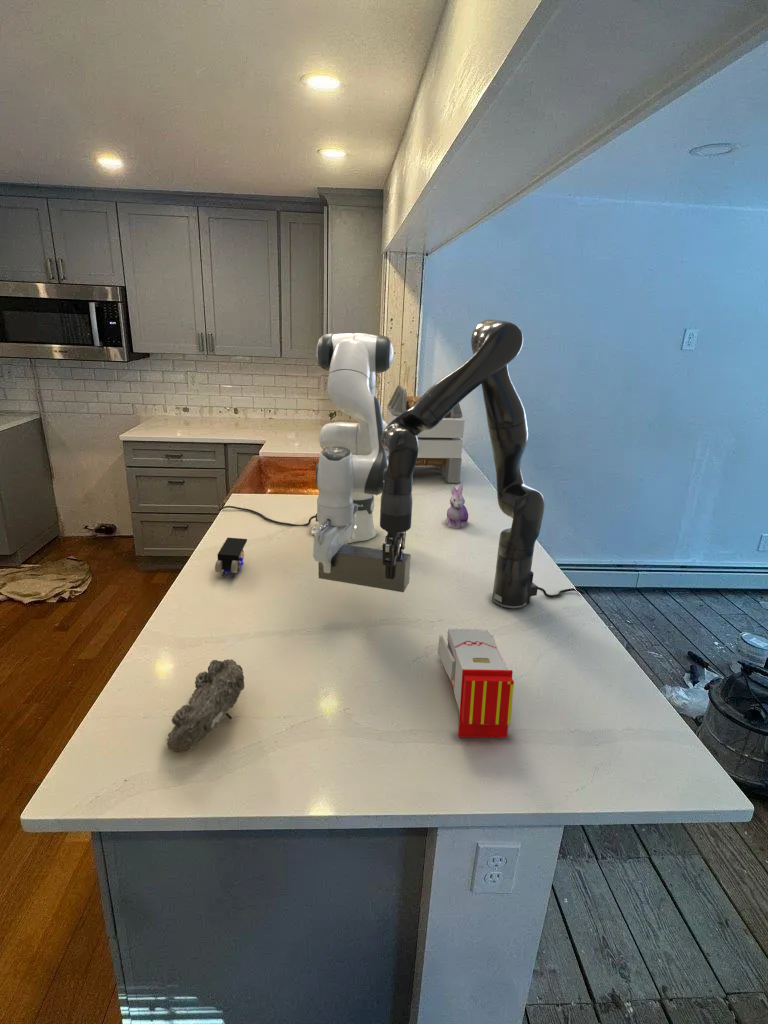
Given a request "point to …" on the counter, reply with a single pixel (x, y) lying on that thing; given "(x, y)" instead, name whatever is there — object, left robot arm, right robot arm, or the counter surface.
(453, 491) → the figurine
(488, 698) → the toy
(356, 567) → the bar
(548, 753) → the counter surface
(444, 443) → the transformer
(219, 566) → the figurine character
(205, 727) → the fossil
